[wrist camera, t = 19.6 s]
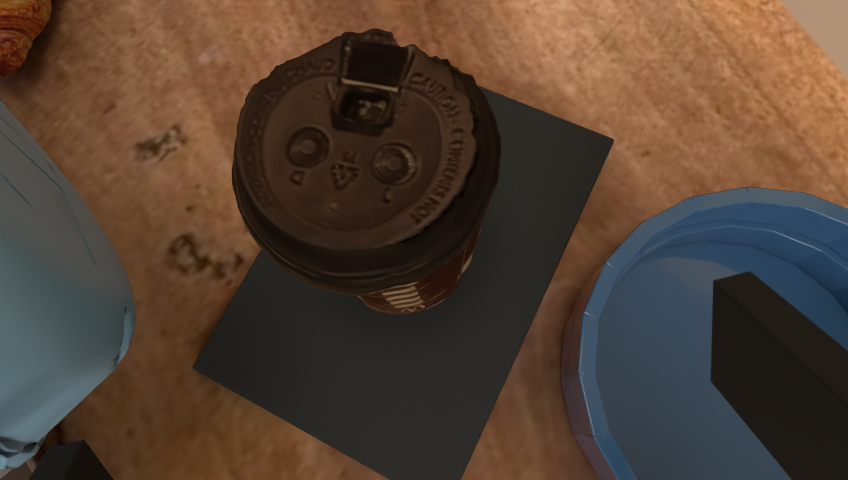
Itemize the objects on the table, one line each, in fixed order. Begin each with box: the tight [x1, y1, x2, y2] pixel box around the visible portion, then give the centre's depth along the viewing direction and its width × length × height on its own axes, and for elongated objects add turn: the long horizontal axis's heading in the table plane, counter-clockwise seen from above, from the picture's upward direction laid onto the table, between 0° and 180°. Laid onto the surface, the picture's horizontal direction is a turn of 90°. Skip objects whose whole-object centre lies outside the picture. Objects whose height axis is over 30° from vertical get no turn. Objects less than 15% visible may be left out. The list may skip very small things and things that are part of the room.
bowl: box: [560, 187, 848, 480], centre depth 24 cm, size 15×15×5 cm
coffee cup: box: [232, 29, 502, 314], centre depth 22 cm, size 9×8×13 cm
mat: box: [192, 85, 614, 480], centre depth 29 cm, size 14×20×1 cm
